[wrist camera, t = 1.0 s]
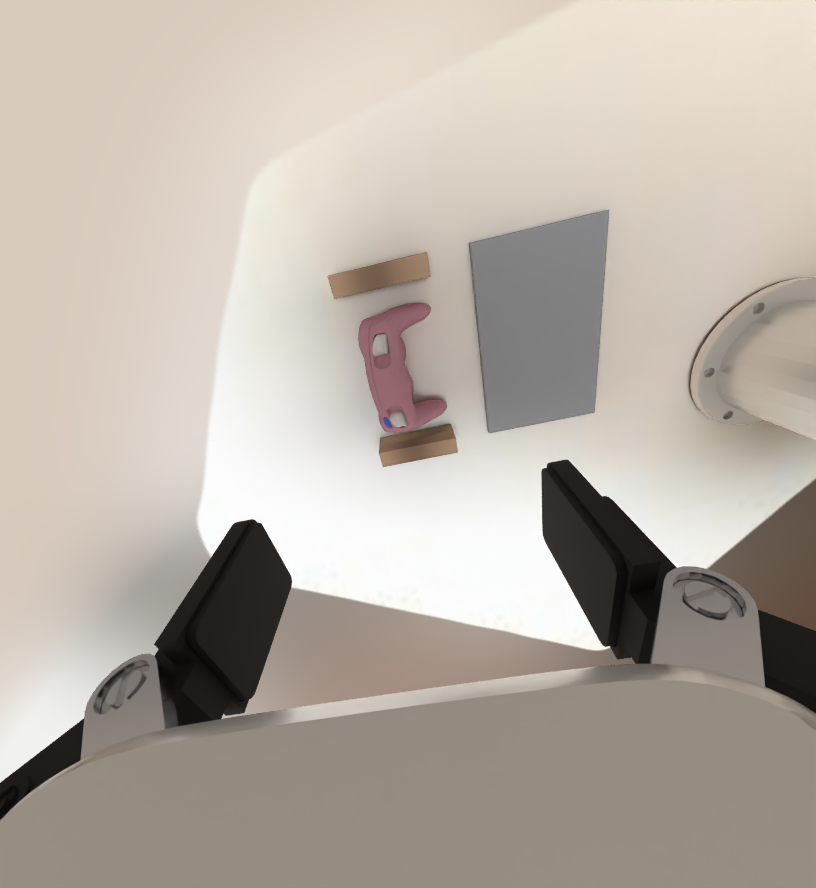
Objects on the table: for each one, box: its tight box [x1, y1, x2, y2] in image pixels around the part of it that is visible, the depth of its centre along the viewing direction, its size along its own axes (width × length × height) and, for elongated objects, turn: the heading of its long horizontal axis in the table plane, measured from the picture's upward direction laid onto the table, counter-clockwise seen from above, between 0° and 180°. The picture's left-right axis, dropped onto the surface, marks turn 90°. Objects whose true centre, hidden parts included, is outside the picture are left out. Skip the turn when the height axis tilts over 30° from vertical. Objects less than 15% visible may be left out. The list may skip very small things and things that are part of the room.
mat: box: [469, 210, 609, 433], centre depth 27 cm, size 10×16×1 cm, turn 12°
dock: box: [328, 252, 458, 467], centre depth 27 cm, size 7×16×3 cm, turn 12°
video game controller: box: [358, 303, 447, 433], centre depth 26 cm, size 10×5×7 cm, turn 12°
